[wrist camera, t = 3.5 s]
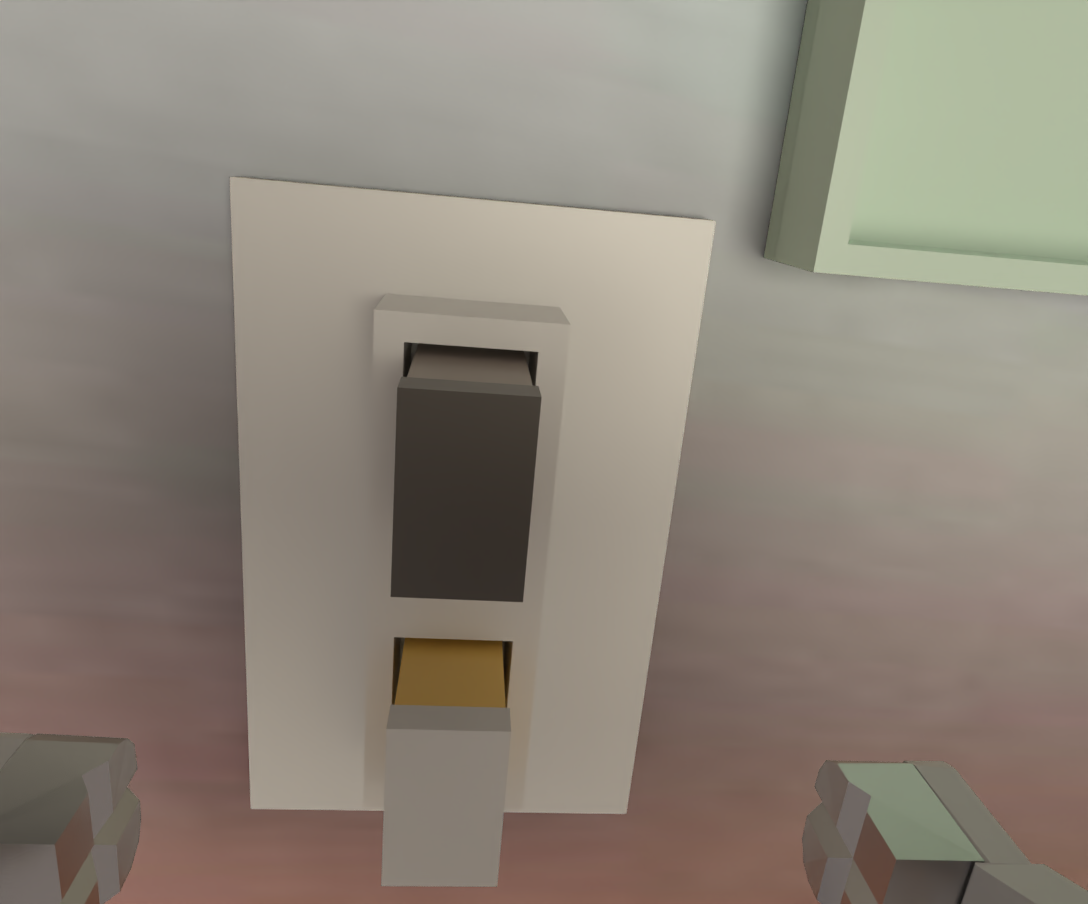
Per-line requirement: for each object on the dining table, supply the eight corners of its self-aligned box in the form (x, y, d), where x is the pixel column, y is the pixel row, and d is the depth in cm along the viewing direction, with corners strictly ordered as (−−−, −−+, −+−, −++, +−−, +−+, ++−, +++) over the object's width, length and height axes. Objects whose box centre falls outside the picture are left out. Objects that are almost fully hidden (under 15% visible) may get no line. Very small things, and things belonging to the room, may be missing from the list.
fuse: (502, 598, 28) (511, 731, 21) (492, 725, 29) (497, 886, 23) (408, 594, 27) (386, 729, 21) (403, 723, 29) (381, 886, 22)
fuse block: (707, 219, 25) (747, 227, 21) (622, 795, 32) (641, 878, 28) (239, 176, 24) (194, 177, 20) (257, 789, 30) (226, 876, 27)
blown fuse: (524, 337, 25) (541, 397, 18) (511, 495, 26) (523, 602, 20) (418, 329, 24) (397, 387, 18) (412, 489, 26) (390, 597, 19)
